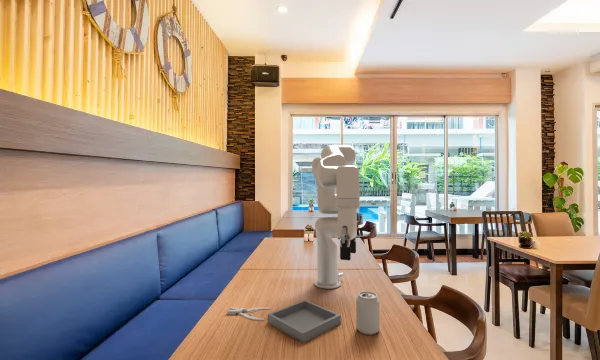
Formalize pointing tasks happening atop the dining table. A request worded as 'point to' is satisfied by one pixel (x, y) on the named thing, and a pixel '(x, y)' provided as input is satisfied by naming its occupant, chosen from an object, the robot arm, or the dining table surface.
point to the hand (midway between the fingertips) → (348, 256)
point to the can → (367, 313)
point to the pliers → (239, 311)
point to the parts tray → (304, 320)
